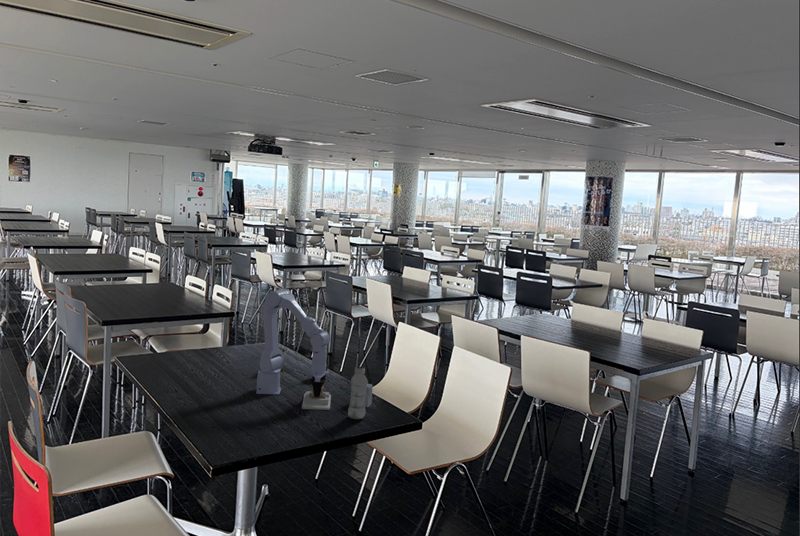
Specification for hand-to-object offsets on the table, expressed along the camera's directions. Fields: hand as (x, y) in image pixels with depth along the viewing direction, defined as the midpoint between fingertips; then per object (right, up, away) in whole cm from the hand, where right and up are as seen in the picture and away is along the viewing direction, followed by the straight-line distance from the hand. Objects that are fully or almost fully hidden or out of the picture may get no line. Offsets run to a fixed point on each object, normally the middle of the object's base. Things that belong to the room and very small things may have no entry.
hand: (317, 393), depth 242 cm
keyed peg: (0, -3, 0) cm, 3 cm away
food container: (-23, +2, +37) cm, 44 cm away
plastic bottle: (+17, -7, -13) cm, 22 cm away
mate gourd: (-4, 0, +30) cm, 30 cm away
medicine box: (+18, -5, +2) cm, 18 cm away
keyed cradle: (0, -4, 0) cm, 4 cm away
